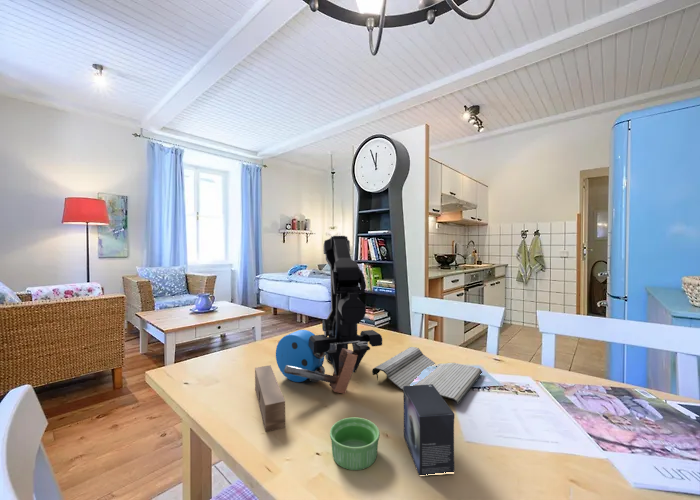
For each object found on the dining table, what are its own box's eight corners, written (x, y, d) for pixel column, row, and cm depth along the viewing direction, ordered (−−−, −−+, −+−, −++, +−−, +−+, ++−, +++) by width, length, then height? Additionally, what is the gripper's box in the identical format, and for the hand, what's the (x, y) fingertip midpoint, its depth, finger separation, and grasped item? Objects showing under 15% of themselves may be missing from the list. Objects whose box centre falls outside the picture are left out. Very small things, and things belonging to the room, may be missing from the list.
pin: (339, 387, 81) (351, 350, 82) (344, 393, 77) (358, 355, 78) (281, 374, 74) (295, 335, 76) (284, 381, 71) (299, 339, 72)
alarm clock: (286, 366, 92) (328, 382, 85) (272, 374, 86) (315, 391, 79) (289, 324, 91) (332, 336, 84) (275, 329, 86) (319, 343, 79)
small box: (401, 436, 60) (401, 384, 60) (433, 435, 61) (433, 383, 60) (417, 478, 49) (417, 414, 49) (456, 475, 50) (456, 412, 50)
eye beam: (270, 385, 81) (270, 365, 81) (285, 427, 63) (285, 401, 63) (255, 388, 80) (255, 367, 80) (265, 432, 61) (265, 405, 61)
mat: (458, 412, 70) (458, 391, 69) (371, 383, 84) (371, 366, 84) (483, 376, 88) (483, 360, 88) (408, 358, 102) (408, 344, 102)
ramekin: (383, 472, 51) (383, 446, 51) (330, 475, 50) (330, 449, 50) (375, 438, 60) (375, 416, 60) (329, 440, 59) (329, 418, 59)
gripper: (365, 306, 90) (364, 358, 90) (304, 309, 83) (302, 366, 83) (384, 314, 79) (382, 373, 80) (315, 318, 72) (313, 383, 72)
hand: (345, 373), depth 79 cm, fingers closed on pin, 4 cm apart
